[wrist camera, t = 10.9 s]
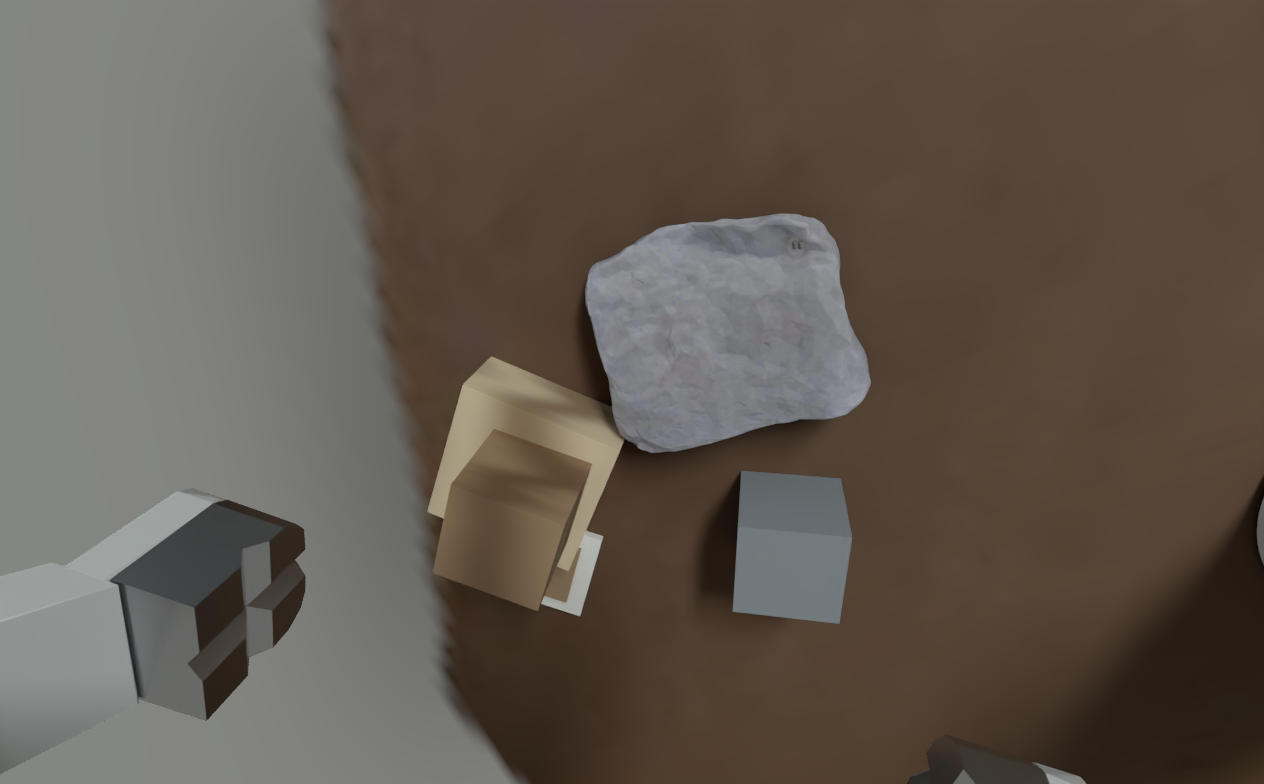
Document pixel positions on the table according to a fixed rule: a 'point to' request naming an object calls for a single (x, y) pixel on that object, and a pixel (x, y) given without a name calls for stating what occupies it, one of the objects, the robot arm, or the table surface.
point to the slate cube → (791, 546)
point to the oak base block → (531, 433)
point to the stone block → (725, 331)
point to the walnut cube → (510, 518)
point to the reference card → (574, 577)
